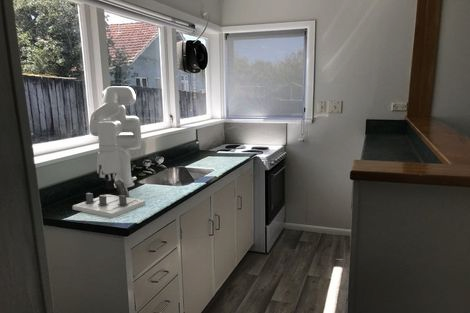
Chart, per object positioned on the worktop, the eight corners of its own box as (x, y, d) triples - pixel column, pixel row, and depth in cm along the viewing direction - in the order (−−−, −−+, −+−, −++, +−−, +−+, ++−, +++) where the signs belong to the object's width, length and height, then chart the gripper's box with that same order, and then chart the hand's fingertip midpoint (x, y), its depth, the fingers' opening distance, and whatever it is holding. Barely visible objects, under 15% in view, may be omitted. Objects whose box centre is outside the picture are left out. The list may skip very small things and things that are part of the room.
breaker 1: (89, 200, 184) (88, 192, 183) (95, 201, 182) (94, 193, 181) (84, 202, 181) (83, 193, 180) (90, 203, 179) (89, 194, 178)
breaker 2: (102, 203, 180) (101, 194, 179) (108, 204, 178) (107, 195, 177) (97, 204, 177) (97, 195, 176) (103, 206, 175) (103, 196, 174)
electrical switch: (130, 196, 199) (127, 180, 197) (120, 199, 196) (117, 182, 194) (125, 193, 207) (122, 177, 205) (115, 195, 204) (113, 179, 202)
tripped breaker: (122, 203, 179) (121, 194, 178) (128, 204, 177) (127, 195, 176) (117, 205, 176) (117, 196, 176) (124, 206, 175) (123, 197, 174)
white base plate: (107, 197, 197) (107, 194, 196) (145, 204, 185) (145, 200, 185) (72, 209, 178) (72, 205, 177) (112, 217, 166) (112, 213, 165)
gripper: (114, 146, 174) (116, 184, 177) (88, 150, 161) (91, 191, 164) (126, 147, 170) (128, 185, 173) (101, 151, 157) (103, 192, 160)
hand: (110, 188), depth 168 cm, fingers closed
